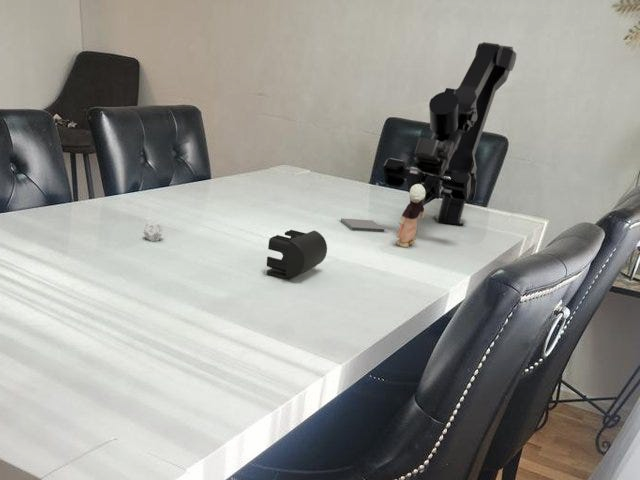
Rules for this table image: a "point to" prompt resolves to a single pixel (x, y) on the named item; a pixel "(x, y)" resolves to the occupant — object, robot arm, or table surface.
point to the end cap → (296, 253)
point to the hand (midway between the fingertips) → (411, 212)
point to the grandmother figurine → (411, 216)
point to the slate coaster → (362, 225)
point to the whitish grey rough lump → (153, 231)
